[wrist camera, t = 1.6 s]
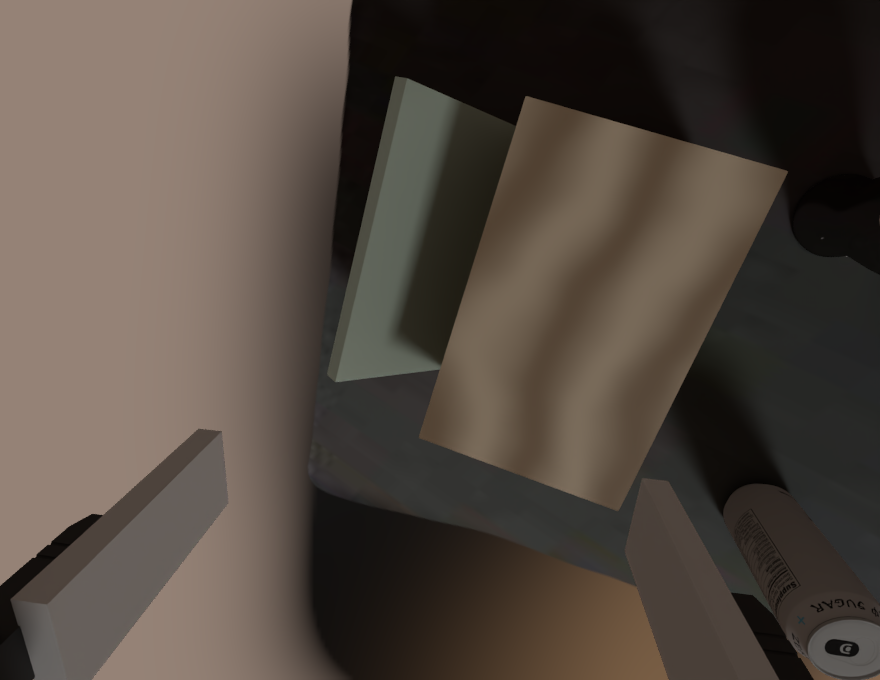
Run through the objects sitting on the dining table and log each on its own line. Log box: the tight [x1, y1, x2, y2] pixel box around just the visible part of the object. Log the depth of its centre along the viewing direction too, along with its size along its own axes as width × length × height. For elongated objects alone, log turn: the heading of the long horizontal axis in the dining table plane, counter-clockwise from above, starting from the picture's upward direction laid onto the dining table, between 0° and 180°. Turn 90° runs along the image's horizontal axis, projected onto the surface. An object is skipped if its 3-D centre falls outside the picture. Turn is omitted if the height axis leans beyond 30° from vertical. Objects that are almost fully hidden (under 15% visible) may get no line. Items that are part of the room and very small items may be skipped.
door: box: [327, 76, 516, 382], centre depth 38 cm, size 2×21×12 cm
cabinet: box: [419, 96, 788, 511], centre depth 36 cm, size 14×22×14 cm, turn 164°
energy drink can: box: [723, 484, 880, 680], centre depth 38 cm, size 6×6×15 cm
